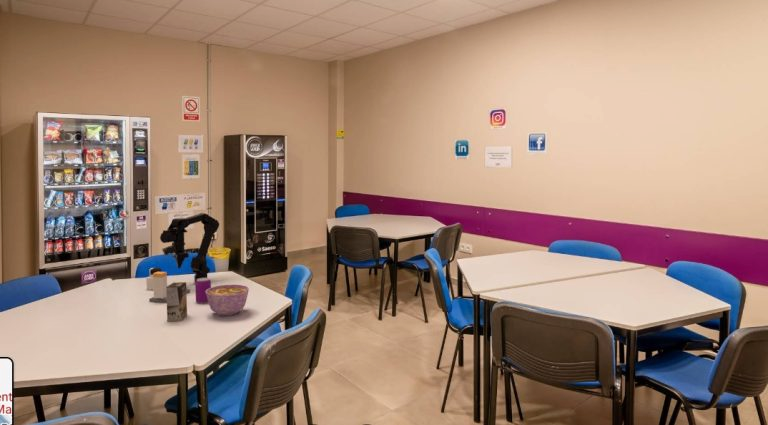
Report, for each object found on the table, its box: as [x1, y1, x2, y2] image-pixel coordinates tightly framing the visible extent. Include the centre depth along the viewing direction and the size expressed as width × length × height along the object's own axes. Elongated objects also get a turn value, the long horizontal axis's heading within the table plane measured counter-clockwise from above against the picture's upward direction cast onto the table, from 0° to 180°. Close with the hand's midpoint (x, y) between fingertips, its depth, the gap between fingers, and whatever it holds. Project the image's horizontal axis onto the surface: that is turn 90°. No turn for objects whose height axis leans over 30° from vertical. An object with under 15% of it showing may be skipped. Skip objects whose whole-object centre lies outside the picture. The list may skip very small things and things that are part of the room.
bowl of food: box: [205, 284, 250, 317], centre depth 235 cm, size 20×20×12 cm
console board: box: [148, 288, 191, 304], centre depth 261 cm, size 21×10×2 cm, turn 170°
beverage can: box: [194, 277, 212, 304], centre depth 253 cm, size 8×8×12 cm
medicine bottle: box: [145, 266, 162, 291], centre depth 276 cm, size 7×7×12 cm
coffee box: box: [166, 281, 188, 322], centre depth 226 cm, size 9×6×16 cm
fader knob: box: [153, 271, 168, 299], centre depth 252 cm, size 4×5×13 cm
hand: (178, 268), depth 275 cm, fingers closed
